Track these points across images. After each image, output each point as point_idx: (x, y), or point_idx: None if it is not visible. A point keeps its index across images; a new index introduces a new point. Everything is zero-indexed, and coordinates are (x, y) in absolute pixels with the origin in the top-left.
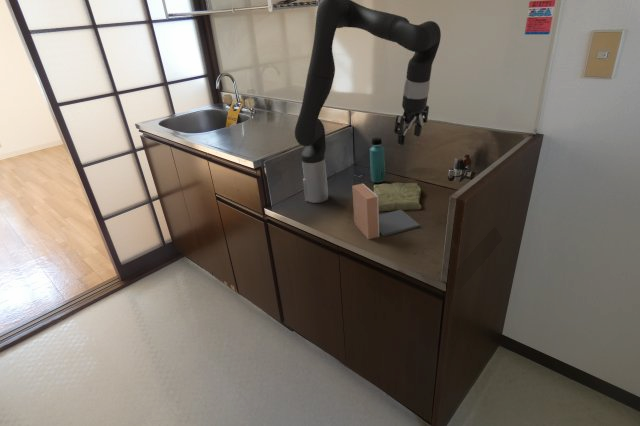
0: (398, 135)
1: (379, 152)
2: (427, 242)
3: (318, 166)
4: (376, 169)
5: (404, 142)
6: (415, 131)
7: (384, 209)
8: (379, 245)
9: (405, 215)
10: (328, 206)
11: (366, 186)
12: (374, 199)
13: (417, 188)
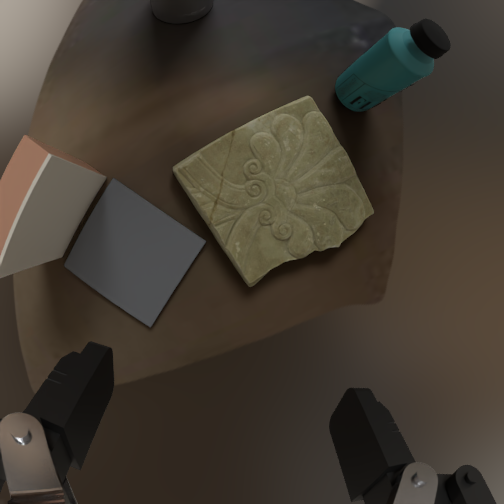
0: (28, 406)
1: (398, 64)
2: None
3: None
4: (356, 78)
5: (106, 406)
6: (357, 421)
7: (186, 193)
8: (36, 277)
9: (177, 271)
10: (148, 46)
11: (33, 188)
12: None
13: (336, 236)
